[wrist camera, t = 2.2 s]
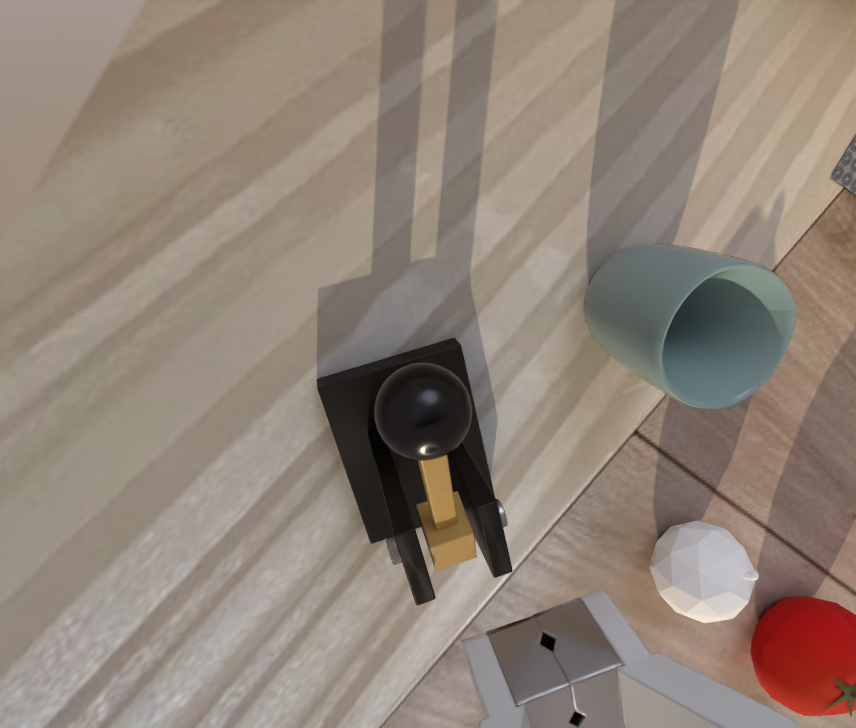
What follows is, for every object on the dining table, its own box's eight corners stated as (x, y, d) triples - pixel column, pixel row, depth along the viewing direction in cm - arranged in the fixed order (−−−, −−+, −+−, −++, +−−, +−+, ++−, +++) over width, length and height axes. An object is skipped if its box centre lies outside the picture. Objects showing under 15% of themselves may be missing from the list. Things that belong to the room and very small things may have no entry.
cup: (694, 261, 37) (824, 295, 28) (637, 364, 39) (742, 428, 30) (602, 214, 35) (712, 235, 26) (546, 327, 37) (630, 385, 27)
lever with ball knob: (355, 359, 20) (379, 436, 18) (449, 331, 21) (484, 403, 18) (406, 524, 30) (426, 587, 28) (469, 502, 30) (494, 563, 28)
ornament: (619, 534, 44) (715, 539, 38) (674, 512, 48) (769, 512, 42) (641, 626, 43) (743, 647, 37) (695, 595, 47) (796, 609, 41)
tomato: (834, 615, 54) (923, 691, 46) (747, 676, 54) (821, 762, 47) (807, 559, 50) (899, 631, 43) (714, 625, 51) (789, 709, 43)
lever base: (316, 378, 34) (326, 482, 24) (454, 337, 35) (524, 417, 25) (368, 530, 39) (396, 674, 28) (489, 489, 40) (560, 613, 29)
